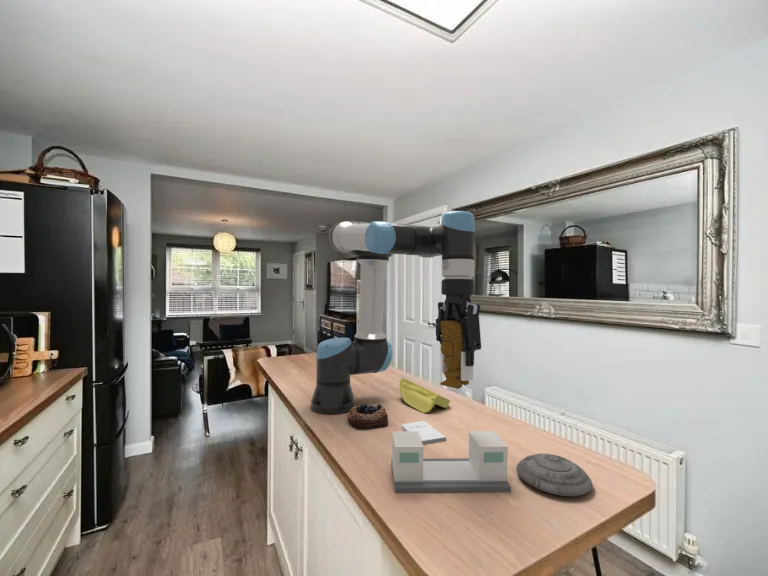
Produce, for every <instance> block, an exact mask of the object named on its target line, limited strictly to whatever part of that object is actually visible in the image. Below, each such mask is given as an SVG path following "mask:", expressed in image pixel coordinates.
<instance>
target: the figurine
mask: <svg viewBox="0 0 768 576" xmlns="http://www.w3.org/2000/svg"><path fill="white" fill-rule="evenodd" d="M441 333H442V334H441V338H442V340H443V342H442V344H440V352H442V354H444V355H445V356H446V357H445V360H444V361H445V362H446V365H447V368H448V369H447V370H446V371H445V372H444V373H443V375H444V377H445V379H444V380H443V381H442V382H440V385H441V386H445V387H449V388H453V389H457V390H458V389H461V388H462V387H463V386H467V385H469V384H470V380H467V381H462V380H461V350H462V349H464V348H463V343H462V333H461V326H460V323H458V322H456V320H445V321H441ZM468 346H469V344H468Z"/></svg>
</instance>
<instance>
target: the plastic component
mask: <svg viewBox="0 0 768 576" xmlns="http://www.w3.org/2000/svg"><path fill="white" fill-rule="evenodd" d="M399 392H400V395H401V398H402V400H403V401H404V402H405V403H406V404H407V405H409V406H410V407H412V408H414V409H416V410H417V411H419V412H420V413H423V414H427V413H429V412H431V410H433V407H434V406H435V405H436V406H439V407H441V408H443V409H448V407H449V404H450V402H451V399H449V398H446V397H444V396H442V395H440V394H438V393H436V392H433V391H431V390H429V389H428V388H425V387H423V386H422V385H421V386H420V385H418V384H416V383H415V382H412V381H410V380H408V379H405V378H403V377H401V378H400V379H399Z"/></svg>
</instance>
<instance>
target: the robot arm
mask: <svg viewBox="0 0 768 576" xmlns="http://www.w3.org/2000/svg"><path fill="white" fill-rule="evenodd" d="M441 219H442V220H441V225H436V226H423V225H415V224H405V223H404V224H403V223H395V222H388V221H371V222H363V221H355V220H345V221H340V222H337V223H335V224H334V225H333V226H332V227H331V229H330V230H329V232H328V233H329V234H328V240H329V243H330V245H331V246H332V248H333V249H334V250H336V251H337V252H339V253H342V254H346V255H351V256H352V255H353V256H354V255H355V256H356V262H357V263H359V265H360V275H359V276H360V281H359V282H360V283H359V285H360V286H359V312H358V314H359V318H358V320H359V321H358V331H357V332H356V333H355V334H354V341H352V340H351V338H349V337H333V338H328V339H326V340H323V341H321V342H320V343H318V345H317V347H316V348H317V349H316V355H315V356H316V357H315V358H316V382H315V383H316V384H315V385H316V386H315V388H314V392H313V395H312V397H311V400H310V408H311V411H313V412H315V413H317V414H323V415H340V414H344V413H349V410H350V409H352V408H353V407H356V398H355V396H354V392H353V388H352V386H351V376H355V375H365V374H378V373H380V372H385V371H386V370H387V369H388V368H389V367H390V365H391V363H392V359H393V347H392V343H391V342H390V340H388V339H387V334H385V333H384V332H383V330H384V329H383V324H384V323H383V322H384V315H383V314H384V295H385V294H384V289H385V288H384V287H385V266H386V265H387V264H388V263H389V261H390V257H392V256H394V255H406V256H407V255H408V256H418V257H421V258H434V257H440V256H441V277H442V278H444V279H442V280H441V291H440V293H441V295H442V296H443V295H444V296H445V300H444V301H440V302H439V301H438V302H437V309H438V310H437V312H438V313H437V314H438V315H437V325H436V333H435V334H436V336H435V337H436V338H435V339H436V341H437V342H439V344H440V345H441V344H442V342H443V340H442V338H441V334H442V333H441V321H445V320H456V322H458V323H460V326H461V333H462V343H463V348H464V349H462V350H461V380H462V381H467V380H468V381H473V380H474V365H475V352H476V351H478V350H479V351H480V350H481V349H482V340H481V339H482V337H481V327H480V325H481V324H480V311H481V306H480V304H474V303H472V301H471V296H473V295H474V294H475V280H474V279H473V278H474V277H475V271H476V270H475V268H476V267H475V251H476V250H475V245H476V244H475V243H476V242H475V241H476V240H475V239H476V238H475V237H476V226H475V225H476V223H475V220H476V219H475V215H474V214H473V213H472V212H471V211H465V210H452V211H447V212H445V213H444V214H443V215H442V218H441ZM468 344H469V346H468ZM440 352H441V351H440ZM440 354H441V373H443V374H444V372H445V371H446V370H447V369H448V368H447V365H446V362H445V361H444V360H445V357H446V356H445V355H444V354H442V352H441V353H440Z"/></svg>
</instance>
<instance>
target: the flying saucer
mask: <svg viewBox="0 0 768 576" xmlns="http://www.w3.org/2000/svg"><path fill="white" fill-rule="evenodd" d="M515 470H516V472H517V474H518V476H519V477H520V479H522V480H523V481H524V482H526V483H527V484H529V485H530V486H532V487H534V488H535V489H538V490H540V491H542V492H545V493H548V494H552V495H557V496H562V497H578V496H582V495H586V494H588V493H590V492H591V491H592V489H593V487H594V486H593V485H594V484H593V482H592V479H591V478H590V476H589V475H588V473H587V472H585V470H584V469H583V468H582V467H580V466H579V465H578V464H576V463H575V462H573V461H571V459H567V458H565V457H563V456H560V455H556V454H551V453H534V454H530V455H528V456H525V457H524V458H522V459H521V460H520V461H519V462H518V463H517V465H516V469H515Z"/></svg>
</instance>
